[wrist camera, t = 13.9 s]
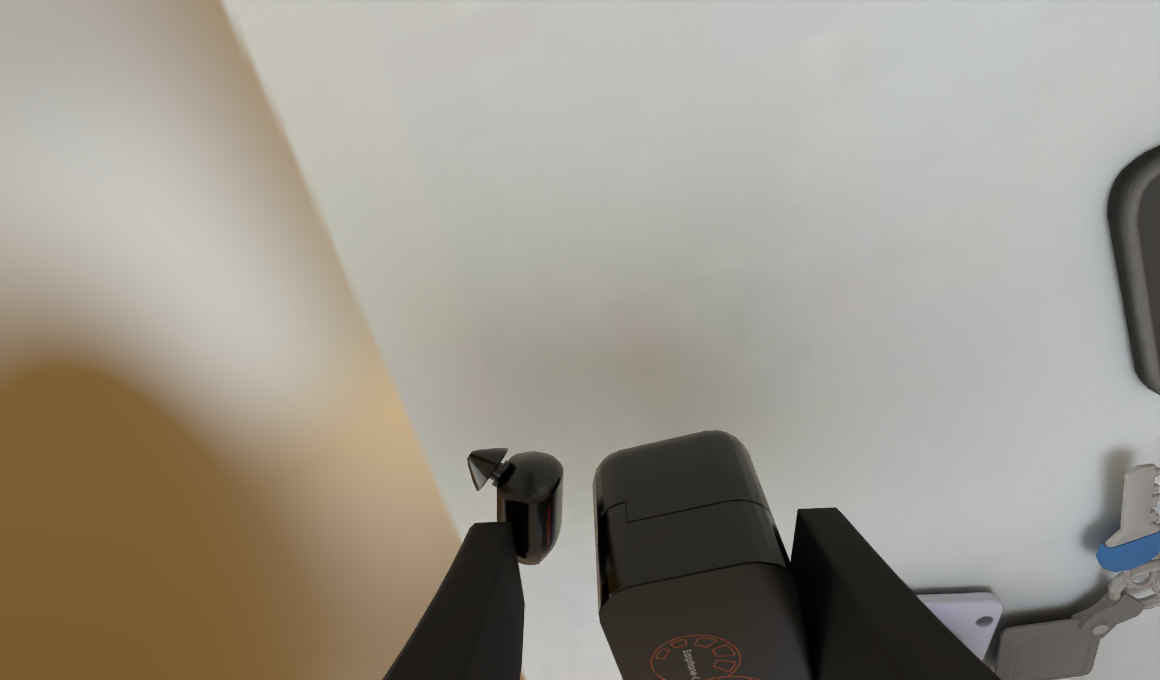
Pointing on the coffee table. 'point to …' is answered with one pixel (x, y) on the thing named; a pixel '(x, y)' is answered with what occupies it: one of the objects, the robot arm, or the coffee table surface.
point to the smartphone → (1139, 259)
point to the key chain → (1073, 643)
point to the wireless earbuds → (671, 556)
